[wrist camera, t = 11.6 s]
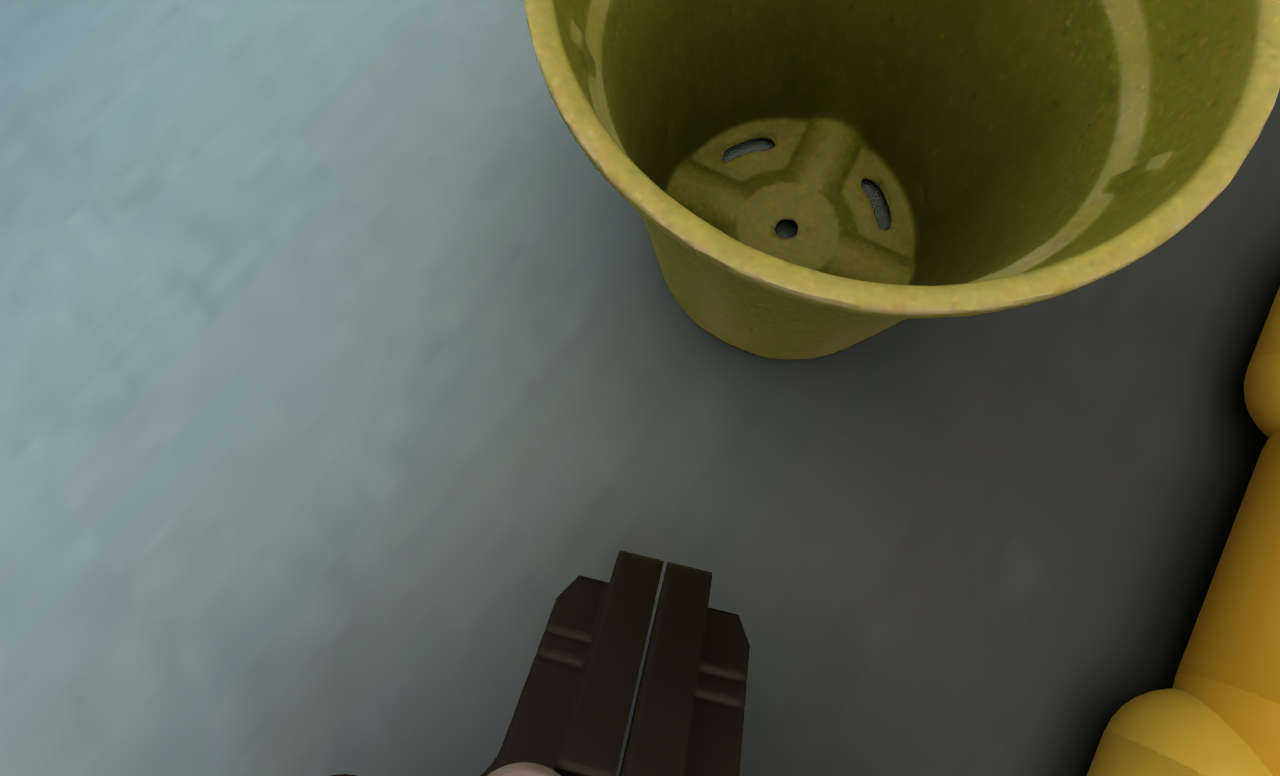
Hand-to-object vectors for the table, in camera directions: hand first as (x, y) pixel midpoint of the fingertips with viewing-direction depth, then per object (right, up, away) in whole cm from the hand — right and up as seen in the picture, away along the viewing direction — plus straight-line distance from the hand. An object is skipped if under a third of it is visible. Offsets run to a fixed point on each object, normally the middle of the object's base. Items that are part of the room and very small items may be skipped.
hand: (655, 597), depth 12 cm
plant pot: (+3, +7, +6) cm, 10 cm away
